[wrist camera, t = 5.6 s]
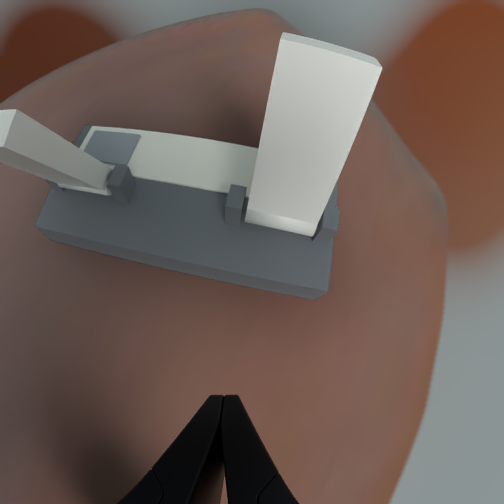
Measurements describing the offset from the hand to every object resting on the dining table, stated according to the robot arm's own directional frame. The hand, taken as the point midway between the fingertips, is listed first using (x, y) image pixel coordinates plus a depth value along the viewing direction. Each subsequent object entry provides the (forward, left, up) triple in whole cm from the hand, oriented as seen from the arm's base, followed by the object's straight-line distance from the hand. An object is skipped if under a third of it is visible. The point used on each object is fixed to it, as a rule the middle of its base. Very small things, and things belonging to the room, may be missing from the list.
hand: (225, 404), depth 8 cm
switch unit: (+12, +3, -12) cm, 17 cm away
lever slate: (+14, +9, -8) cm, 18 cm away
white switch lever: (+10, -4, -9) cm, 14 cm away
